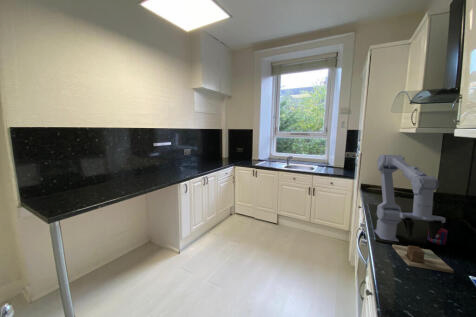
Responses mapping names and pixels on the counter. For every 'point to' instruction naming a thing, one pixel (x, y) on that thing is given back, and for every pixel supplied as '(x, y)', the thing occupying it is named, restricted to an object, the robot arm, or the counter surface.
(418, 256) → the peg
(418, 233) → the counter surface
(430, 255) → the board
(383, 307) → the counter surface
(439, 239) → the mug
